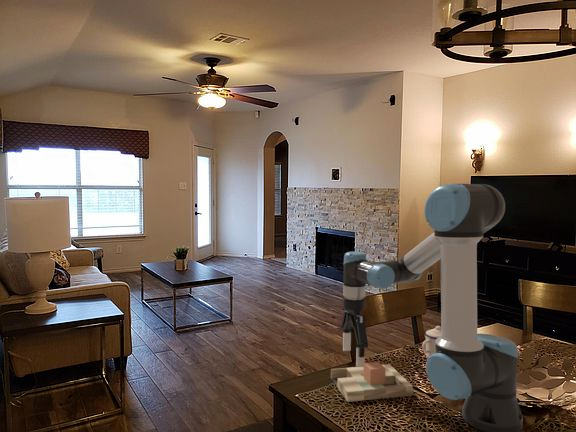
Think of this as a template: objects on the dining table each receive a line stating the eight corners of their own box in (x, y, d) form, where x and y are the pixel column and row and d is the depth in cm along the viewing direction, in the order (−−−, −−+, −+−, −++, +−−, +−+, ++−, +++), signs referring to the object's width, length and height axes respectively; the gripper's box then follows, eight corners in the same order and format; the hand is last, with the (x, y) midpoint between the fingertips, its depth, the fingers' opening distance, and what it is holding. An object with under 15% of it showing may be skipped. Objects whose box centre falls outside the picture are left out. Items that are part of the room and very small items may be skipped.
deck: (412, 395, 135) (412, 386, 135) (347, 401, 131) (347, 392, 131) (389, 372, 152) (389, 364, 152) (330, 377, 148) (330, 369, 147)
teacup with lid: (437, 350, 172) (438, 321, 171) (455, 359, 164) (456, 328, 163) (414, 356, 167) (414, 325, 166) (431, 364, 159) (432, 333, 158)
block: (385, 383, 136) (385, 368, 136) (370, 385, 135) (370, 369, 135) (378, 376, 141) (378, 361, 141) (363, 378, 140) (363, 363, 140)
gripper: (379, 306, 139) (378, 372, 140) (352, 288, 163) (351, 344, 165) (356, 307, 137) (355, 373, 139) (332, 289, 162) (332, 345, 163)
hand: (353, 357), depth 152 cm, fingers open, 13 cm apart
